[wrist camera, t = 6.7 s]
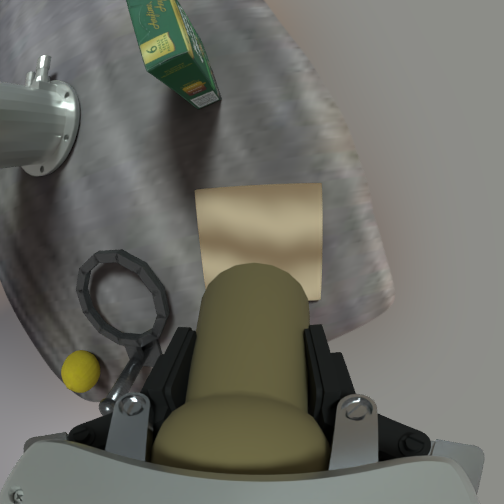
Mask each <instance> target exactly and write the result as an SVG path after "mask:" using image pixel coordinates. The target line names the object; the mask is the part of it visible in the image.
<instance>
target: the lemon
mask: <svg viewBox="0 0 504 504" xmlns="http://www.w3.org/2000/svg"><path fill="white" fill-rule="evenodd" d="M61 375H62V379H63V382H64V383H65V385H66V387H67V388H68V389H69V390H72V391H74V392H78V393H83V392H86V391H88V390H90V389H91V388H92V387H93V386H94V385H95V384H96V383H97V381H98V379H99V376H100V365H99V362H98V360H97V359H96V357H95V356H94V355H93V354H91V353H90V352H88V351H84V350H79V351H75V352H73V353H72V354H70V355H69V356H68V357H67V358H66V360H65V362H64V364H63V366H62V370H61Z"/></svg>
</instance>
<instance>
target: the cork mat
mask: <svg viewBox="0 0 504 504" xmlns="http://www.w3.org/2000/svg"><path fill="white" fill-rule="evenodd" d="M195 201H196V211H197V221H198V230H199V239H200V248H201V257H202V265H203V272H204V280H205V287H206V289H207V286H208V284H209V283H210V282H211V281H212V280H213V279H214V278H215V277H216V276H217V275H218V274H219V273H221V272H223V271H225V270H227V269H229V268H231V267H233V266H235V265H240V264H247V263H261V264H268V265H273V266H275V267H277V268H279V269H282V270H284V271H286V272H288V273H289V274H290V275H291V276H292V277H293V278H295V279H296V280H297V281H298V282H299V283H300V284H301V286H302V288H303V290H304V292H305V294H306V296H307V298H308V301H310V300H321V277H322V183H297V184H269V185H250V186H234V187H220V188H208V189H197V190H195Z"/></svg>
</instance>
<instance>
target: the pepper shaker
mask: <svg viewBox="0 0 504 504" xmlns="http://www.w3.org/2000/svg"><path fill="white" fill-rule="evenodd" d="M309 325H310V315H309V303H308V298H307V296H306V294H305V292H304V290H303V288H302V286H301V284H300V283H299V282H298V281H297V280H296V279H295V278H293V277H292V276H291V275H290V274H289V273H288V272H286V271H284V270H282V269H279V268H277V267H275V266H273V265H268V264H261V263H247V264H240V265H235V266H233V267H231V268H229V269H227V270H225V271H223V272H221V273H219V274H218V275H217V276H216V277H215V278H214V279H213V280H212V281H211V282H210V283H209V284H208V286H207V289H206V291H205V293H204V295H203V297H202V301H201V307H200V312H199V318H198V324H197V329H196V334H197V338H196V342H195V347H194V351H193V356H192V360H191V366H190V373H189V380H188V387H187V394H186V401H185V404H184V405H182V406H180V407H179V408H177V409H176V410H174V411H172V413H171V414H170V415H169V416H168V418H167V419H166V420H165V421H164V423H163V424H162V426H161V428H160V430H159V432H158V434H157V436H156V438H155V441H154V443H153V446H152V451H151V463H154V464H158V465H164V466H169V467H175V468H181V469H187V470H195V471H203V472H212V473H224V474H242V475H281V474H300V473H311V472H321V471H327V468H328V462H329V455H330V445H329V442H328V440H327V438H326V437H325V435H324V433H323V431H322V429H321V428H320V426H319V425H318V424H317V422H316V421H315V419H314V418H313V417H312V416H311V415H309V414H308V368H307V359H306V350H305V342H304V329H308V326H309Z"/></svg>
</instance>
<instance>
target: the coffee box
mask: <svg viewBox="0 0 504 504" xmlns="http://www.w3.org/2000/svg"><path fill="white" fill-rule="evenodd" d="M126 2H127V6H128V9H129V13H130V16H131V20H132V24H133V27H134V31H135V34H136V38H137V42H138V45H139V48H140V52H141V55H142V59H143V62H144V65H145V68H146V71H147V72H149V73H150V74H152V75H153V76H154V77H156V78H157V79H159V80H160V81H161V82H163V83H164V84H165V85H167V86H168V87H170V88H171V89H172V90H174V91H175V92H176V93H178V94H179V95H180V96H182V97H183V98H184V99H185V100H187V101H188V102H189V103H191V104H192V105H193V106H194V107H196V108H197V109H200V108H203V107H205V106H207V105H209V104H212V103H214V102H216V101H219V100H221V99H222V98H221V95H220V92H219V89H218V86H217V83H216V80H215V77H214V74H213V71H212V68H211V65H210V63H209V60H208V57H207V54H206V52H205V49H204V47H203V44H202V41H201V39H200V38H199V36H198V34H197V33H196V31H195V29H194V27H193V26H192V24H191V22H190V21H189V19H188V17H187V16H186V14H185V12H184V11H183V9H182V7H181V6H180V4H179V2H178V1H177V0H126Z"/></svg>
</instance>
